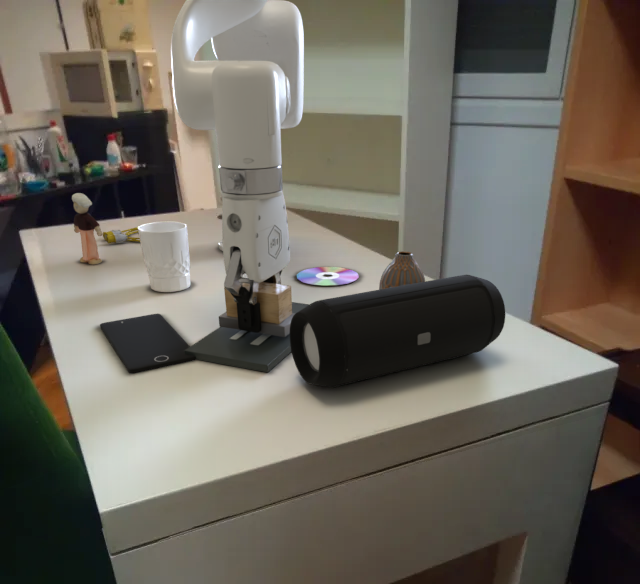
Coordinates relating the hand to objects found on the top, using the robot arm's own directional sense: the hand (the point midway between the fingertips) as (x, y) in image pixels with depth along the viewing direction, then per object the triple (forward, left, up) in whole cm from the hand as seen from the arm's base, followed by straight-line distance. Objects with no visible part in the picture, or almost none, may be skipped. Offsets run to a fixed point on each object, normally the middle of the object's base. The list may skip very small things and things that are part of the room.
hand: (260, 321), depth 81 cm
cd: (-29, -2, -2) cm, 29 cm away
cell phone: (+8, -14, -3) cm, 16 cm away
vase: (-17, +15, -2) cm, 23 cm away
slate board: (-1, 0, -2) cm, 3 cm away
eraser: (0, 0, -1) cm, 1 cm away
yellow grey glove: (-41, -52, -2) cm, 66 cm away
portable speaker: (+2, +20, -2) cm, 21 cm away
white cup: (-14, -25, -2) cm, 29 cm away
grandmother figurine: (-21, -48, -2) cm, 52 cm away
